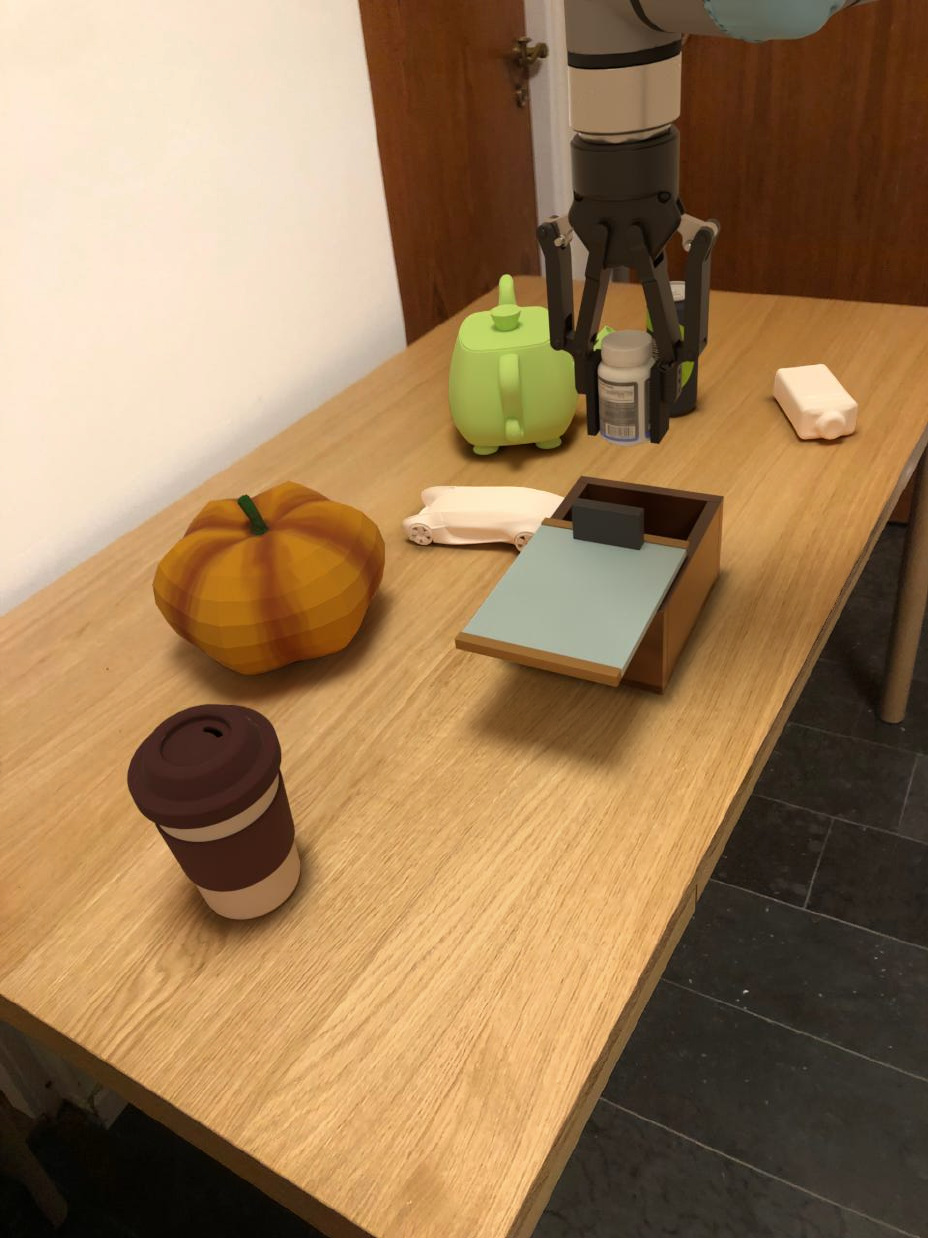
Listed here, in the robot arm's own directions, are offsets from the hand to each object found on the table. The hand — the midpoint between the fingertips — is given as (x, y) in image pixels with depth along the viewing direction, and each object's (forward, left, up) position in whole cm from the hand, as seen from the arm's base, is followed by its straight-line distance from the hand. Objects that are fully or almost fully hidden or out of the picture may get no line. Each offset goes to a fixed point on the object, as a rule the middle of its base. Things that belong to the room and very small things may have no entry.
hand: (628, 431), depth 80 cm
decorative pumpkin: (+30, +14, -18) cm, 38 cm away
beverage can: (+8, -40, -18) cm, 45 cm away
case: (0, +2, -18) cm, 18 cm away
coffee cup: (+15, +40, -18) cm, 47 cm away
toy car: (+18, -7, -18) cm, 27 cm away
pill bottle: (0, 0, -1) cm, 1 cm away
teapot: (+23, -32, -18) cm, 43 cm away
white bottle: (-9, -41, -18) cm, 45 cm away
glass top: (0, +12, -9) cm, 15 cm away
